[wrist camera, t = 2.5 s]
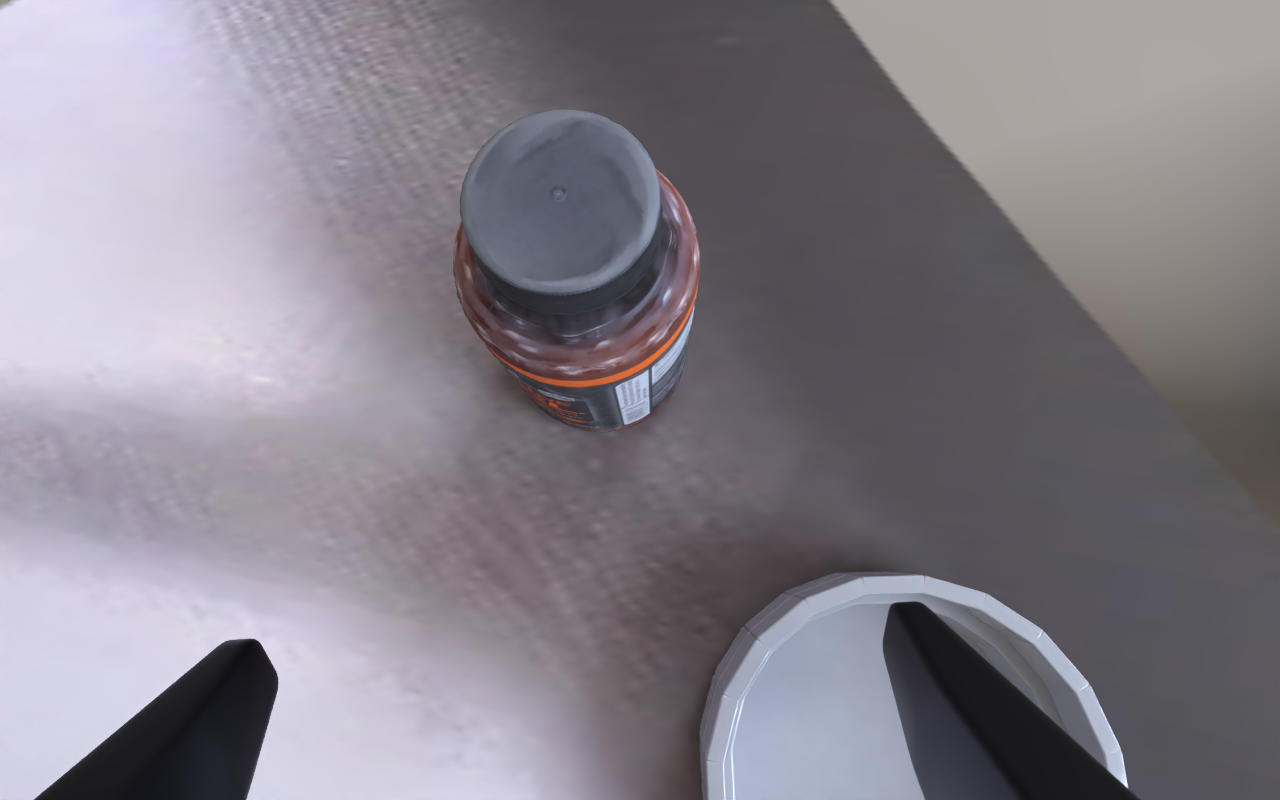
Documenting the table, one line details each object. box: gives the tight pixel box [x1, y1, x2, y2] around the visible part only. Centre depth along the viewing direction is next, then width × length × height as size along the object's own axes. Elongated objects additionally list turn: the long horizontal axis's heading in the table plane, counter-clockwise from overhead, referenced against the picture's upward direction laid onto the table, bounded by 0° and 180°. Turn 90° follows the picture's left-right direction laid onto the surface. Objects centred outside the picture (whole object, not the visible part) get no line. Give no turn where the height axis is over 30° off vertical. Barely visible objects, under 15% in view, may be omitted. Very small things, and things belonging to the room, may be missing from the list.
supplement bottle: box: [453, 109, 700, 432], centre depth 18 cm, size 6×6×11 cm
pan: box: [699, 571, 1128, 800], centre depth 19 cm, size 11×11×4 cm
